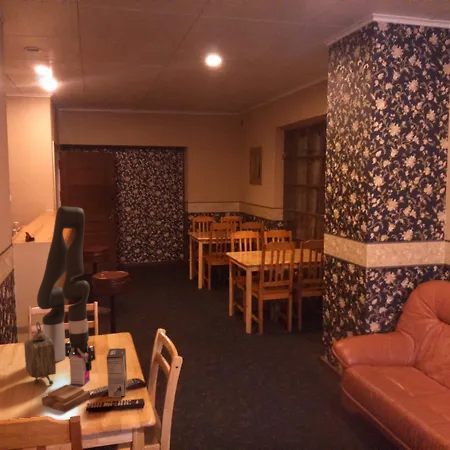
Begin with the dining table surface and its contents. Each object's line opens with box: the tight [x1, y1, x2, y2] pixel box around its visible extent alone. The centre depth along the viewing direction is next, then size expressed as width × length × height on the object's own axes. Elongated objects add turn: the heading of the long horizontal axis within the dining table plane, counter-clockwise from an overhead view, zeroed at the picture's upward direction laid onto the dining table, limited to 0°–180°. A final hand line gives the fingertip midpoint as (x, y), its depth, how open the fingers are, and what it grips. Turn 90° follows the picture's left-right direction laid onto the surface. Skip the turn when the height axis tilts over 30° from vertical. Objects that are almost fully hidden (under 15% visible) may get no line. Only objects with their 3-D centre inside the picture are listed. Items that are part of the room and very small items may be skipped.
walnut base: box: [41, 384, 91, 413], centre depth 188 cm, size 12×12×4 cm
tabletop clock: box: [23, 321, 57, 386], centre depth 205 cm, size 14×9×25 cm, turn 32°
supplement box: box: [69, 353, 91, 386], centre depth 204 cm, size 6×6×12 cm
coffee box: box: [106, 347, 128, 398], centre depth 194 cm, size 9×6×16 cm
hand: (80, 368), depth 204 cm, fingers open, 8 cm apart
